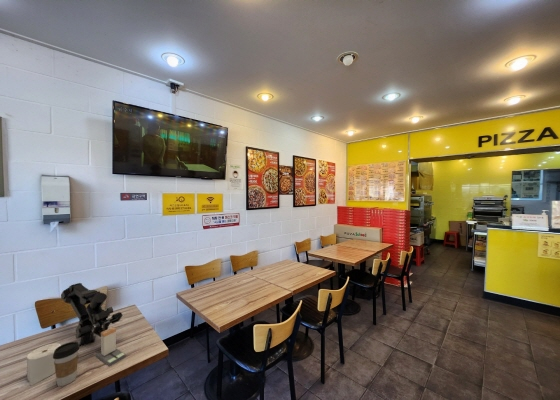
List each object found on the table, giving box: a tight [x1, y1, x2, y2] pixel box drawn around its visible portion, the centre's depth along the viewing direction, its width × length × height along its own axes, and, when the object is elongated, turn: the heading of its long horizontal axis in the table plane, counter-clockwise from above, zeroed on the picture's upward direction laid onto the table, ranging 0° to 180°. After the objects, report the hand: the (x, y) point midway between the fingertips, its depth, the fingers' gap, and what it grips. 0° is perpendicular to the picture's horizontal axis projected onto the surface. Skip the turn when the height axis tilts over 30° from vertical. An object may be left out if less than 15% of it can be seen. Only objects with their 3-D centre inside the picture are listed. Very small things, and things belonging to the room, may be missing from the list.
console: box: [95, 348, 127, 367], centre depth 109 cm, size 14×7×2 cm, turn 61°
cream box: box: [100, 326, 117, 356], centre depth 110 cm, size 3×5×11 cm, turn 151°
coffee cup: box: [53, 341, 81, 387], centre depth 95 cm, size 8×8×15 cm
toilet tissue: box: [26, 343, 62, 386], centre depth 100 cm, size 11×12×10 cm
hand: (106, 339), depth 111 cm, fingers closed
